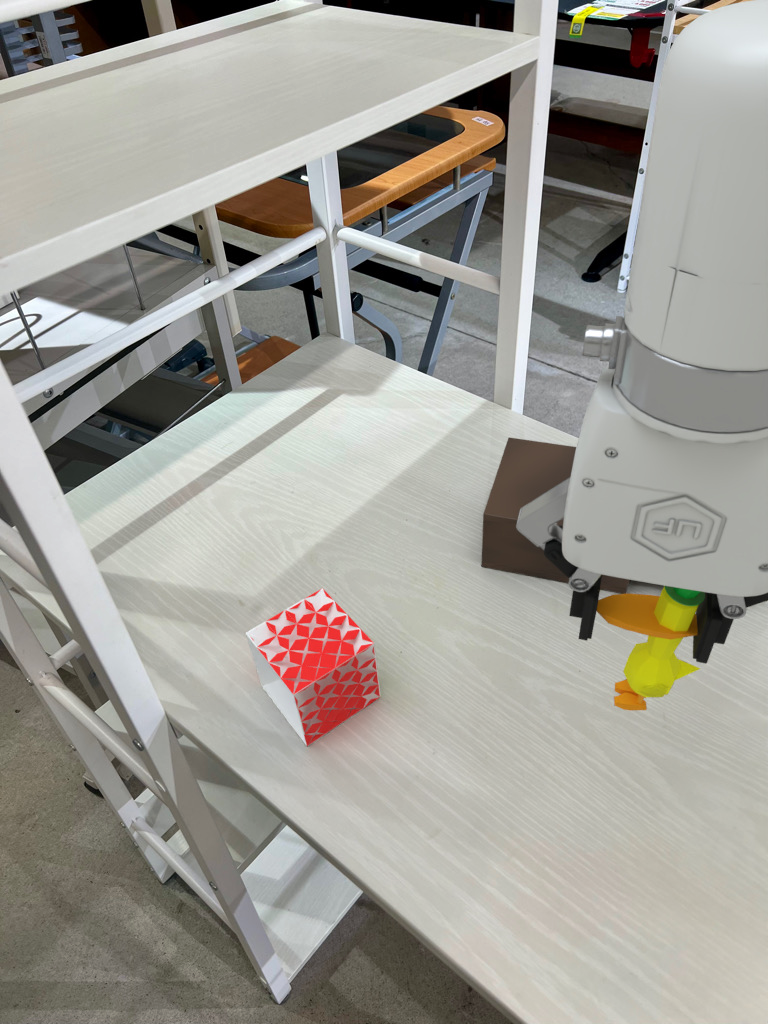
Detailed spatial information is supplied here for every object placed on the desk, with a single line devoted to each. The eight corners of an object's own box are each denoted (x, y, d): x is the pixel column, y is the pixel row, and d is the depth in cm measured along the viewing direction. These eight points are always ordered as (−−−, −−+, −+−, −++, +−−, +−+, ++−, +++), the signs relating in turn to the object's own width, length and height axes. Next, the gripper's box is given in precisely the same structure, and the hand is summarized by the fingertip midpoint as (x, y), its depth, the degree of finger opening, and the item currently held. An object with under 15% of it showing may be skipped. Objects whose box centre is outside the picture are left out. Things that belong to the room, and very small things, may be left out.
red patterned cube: (380, 697, 67) (374, 643, 62) (307, 747, 64) (293, 695, 58) (331, 641, 72) (321, 587, 66) (261, 685, 69) (244, 632, 63)
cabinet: (636, 510, 82) (648, 456, 77) (625, 594, 74) (639, 540, 69) (505, 489, 86) (508, 437, 81) (481, 566, 78) (483, 513, 73)
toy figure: (572, 711, 47) (608, 588, 39) (574, 664, 50) (609, 539, 41) (683, 731, 46) (745, 609, 38) (680, 683, 48) (737, 558, 40)
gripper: (487, 390, 31) (482, 653, 43) (973, 442, 26) (812, 720, 38) (519, 303, 36) (506, 560, 48) (930, 334, 31) (800, 610, 43)
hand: (642, 629), depth 43 cm, fingers closed on toy figure, 5 cm apart
